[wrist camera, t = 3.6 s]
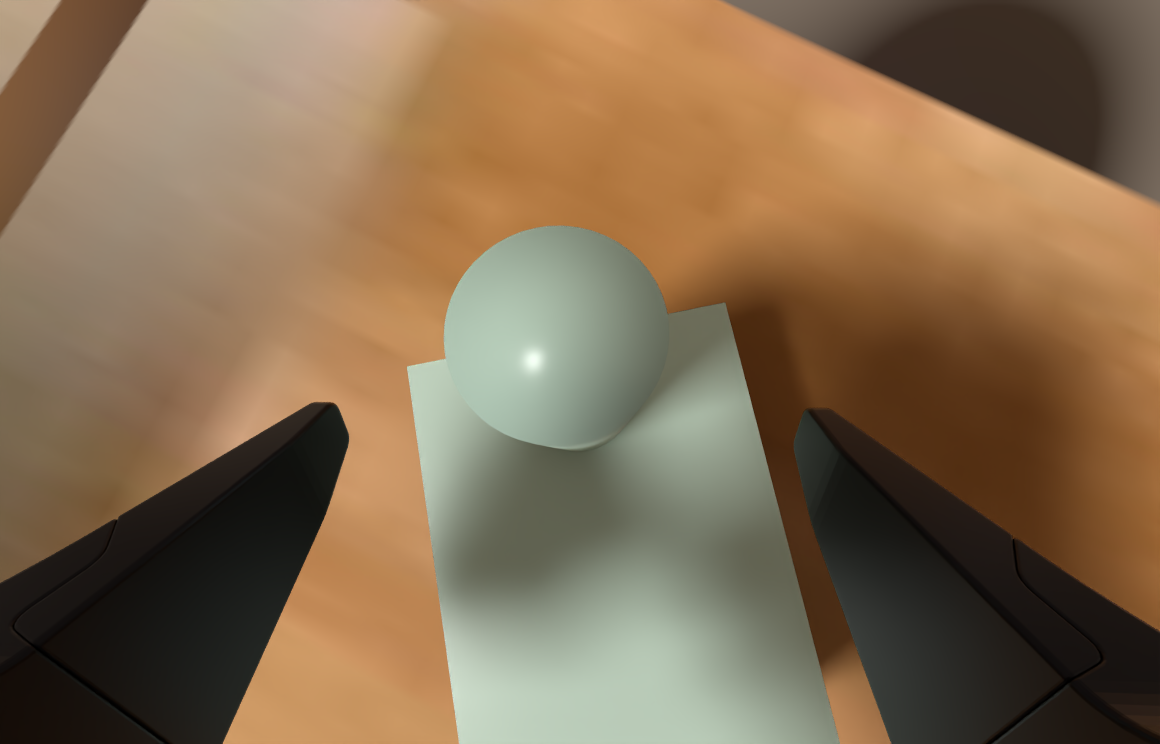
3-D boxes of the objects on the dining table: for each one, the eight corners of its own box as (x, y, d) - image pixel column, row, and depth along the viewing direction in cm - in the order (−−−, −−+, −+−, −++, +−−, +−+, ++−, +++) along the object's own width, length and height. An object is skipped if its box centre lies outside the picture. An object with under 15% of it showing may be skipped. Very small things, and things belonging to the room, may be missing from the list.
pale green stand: (489, 850, 14) (288, 1571, 5) (420, 372, 16) (202, 269, 7) (835, 781, 14) (1274, 1382, 5) (716, 313, 16) (861, 136, 7)
